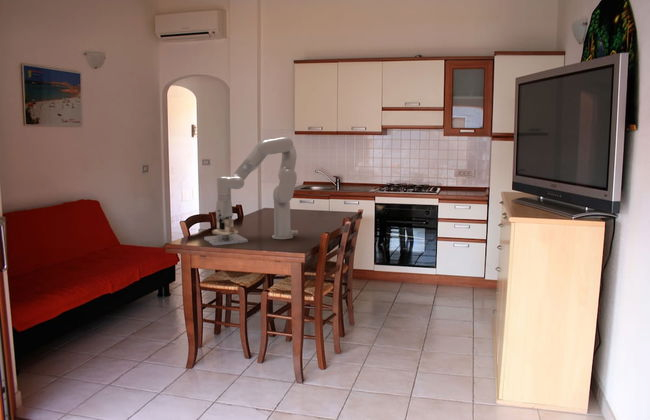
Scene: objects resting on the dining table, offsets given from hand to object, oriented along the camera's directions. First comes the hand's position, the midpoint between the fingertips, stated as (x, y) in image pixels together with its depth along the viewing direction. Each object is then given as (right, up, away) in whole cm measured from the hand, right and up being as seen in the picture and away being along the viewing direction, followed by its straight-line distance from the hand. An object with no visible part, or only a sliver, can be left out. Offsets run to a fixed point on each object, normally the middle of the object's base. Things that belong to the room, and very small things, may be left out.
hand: (225, 228), depth 326 cm
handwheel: (0, -6, +1) cm, 6 cm away
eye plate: (0, -7, +1) cm, 7 cm away
